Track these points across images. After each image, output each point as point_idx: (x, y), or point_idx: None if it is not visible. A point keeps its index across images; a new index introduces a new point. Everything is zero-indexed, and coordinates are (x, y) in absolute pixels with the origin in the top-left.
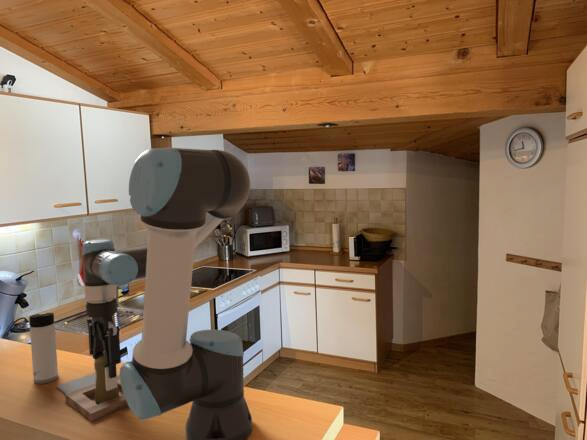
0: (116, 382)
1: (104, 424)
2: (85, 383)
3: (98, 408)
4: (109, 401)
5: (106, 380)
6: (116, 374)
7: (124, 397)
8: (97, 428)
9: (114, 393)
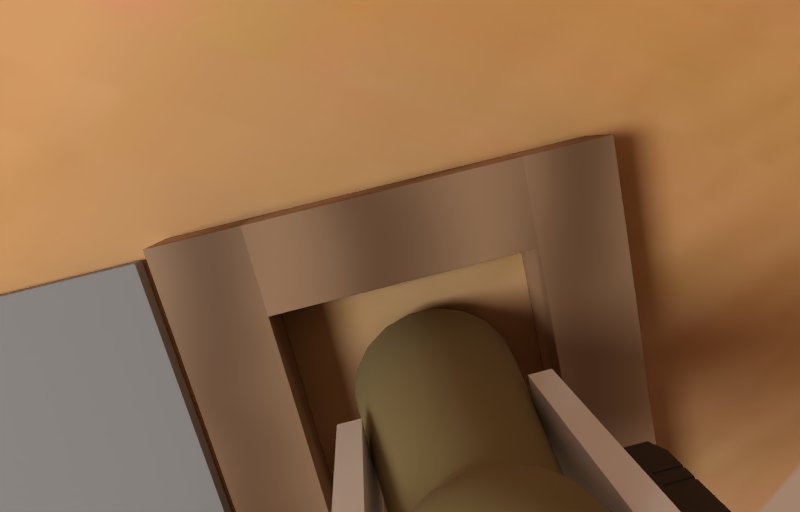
0: (572, 395)
1: (717, 439)
2: (93, 481)
3: None
4: (591, 411)
5: None
6: (609, 433)
7: (603, 312)
8: (729, 475)
9: (518, 368)
